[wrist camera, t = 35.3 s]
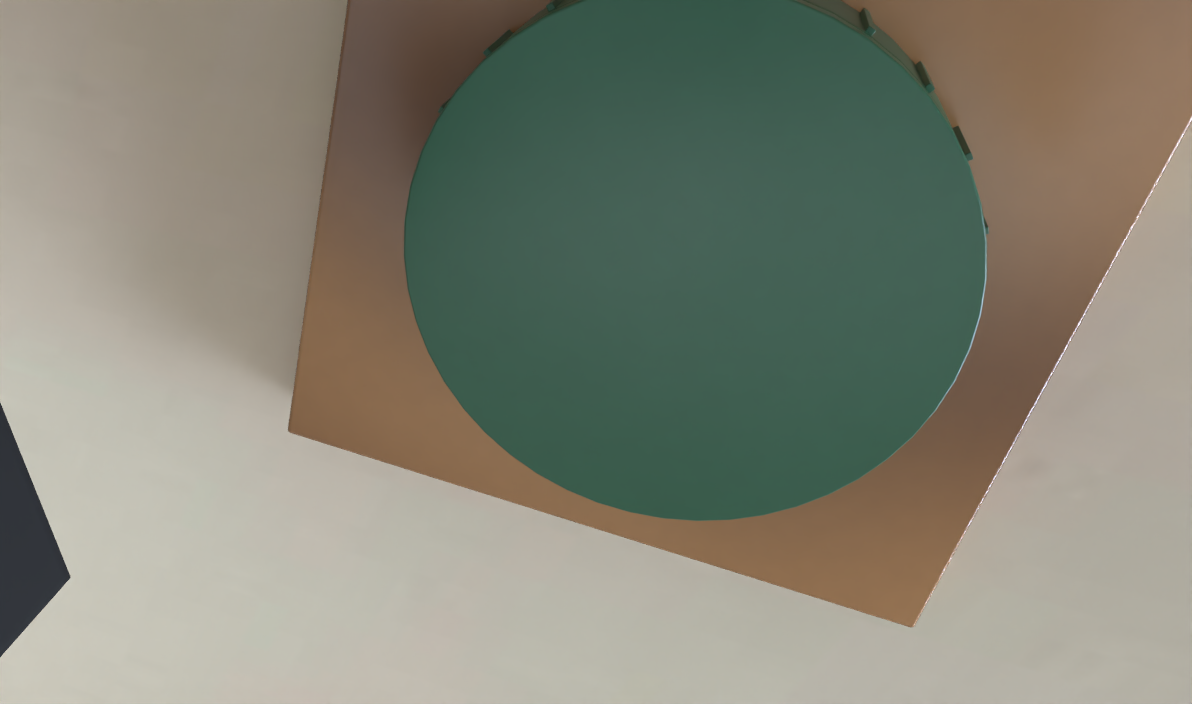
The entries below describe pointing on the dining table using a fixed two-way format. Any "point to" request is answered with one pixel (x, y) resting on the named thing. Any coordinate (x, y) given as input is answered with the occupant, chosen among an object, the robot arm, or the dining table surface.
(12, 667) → the dining table surface
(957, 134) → the jar lid
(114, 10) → the dining table surface
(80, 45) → the dining table surface
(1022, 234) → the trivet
